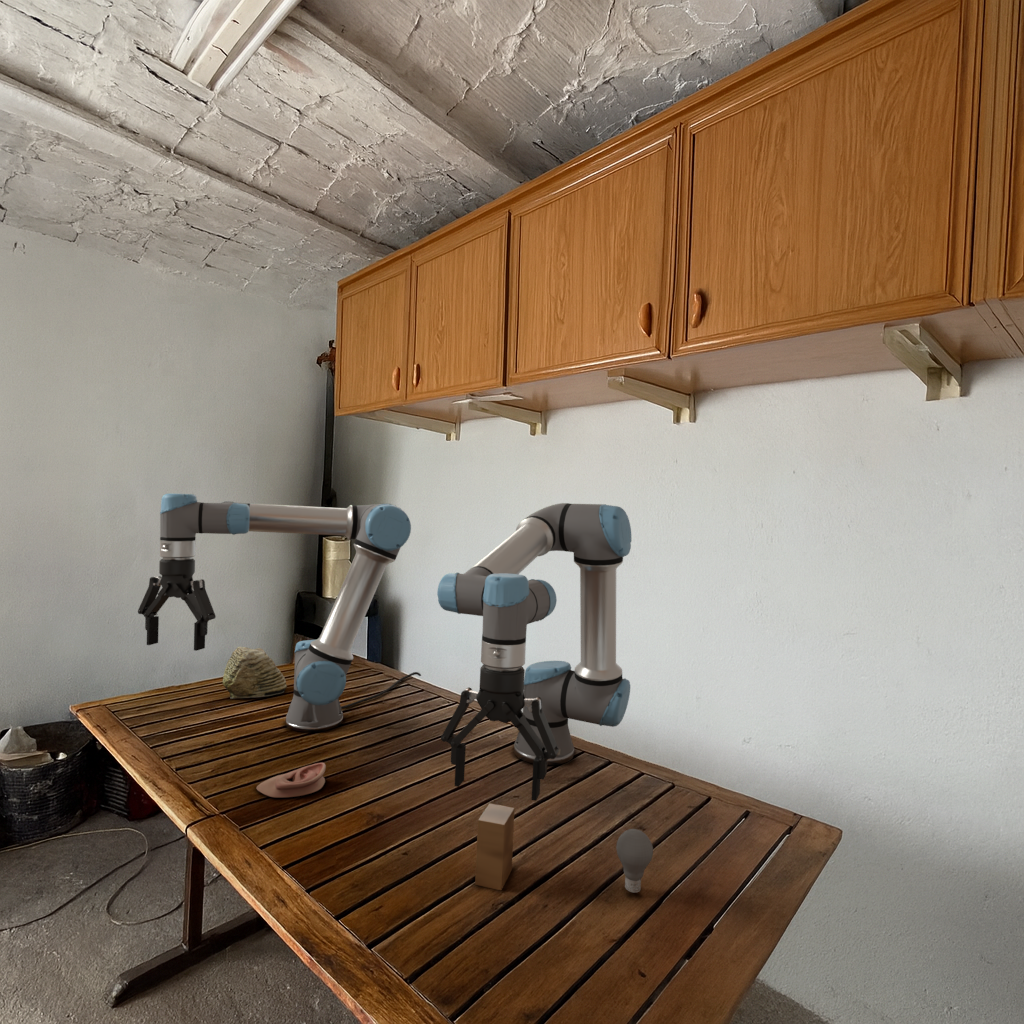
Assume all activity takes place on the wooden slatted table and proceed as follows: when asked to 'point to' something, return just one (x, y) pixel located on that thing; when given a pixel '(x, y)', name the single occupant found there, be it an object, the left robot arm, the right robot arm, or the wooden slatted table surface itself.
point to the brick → (494, 846)
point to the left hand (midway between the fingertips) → (175, 646)
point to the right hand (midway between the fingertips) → (496, 790)
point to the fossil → (252, 674)
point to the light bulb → (634, 857)
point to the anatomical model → (295, 782)
